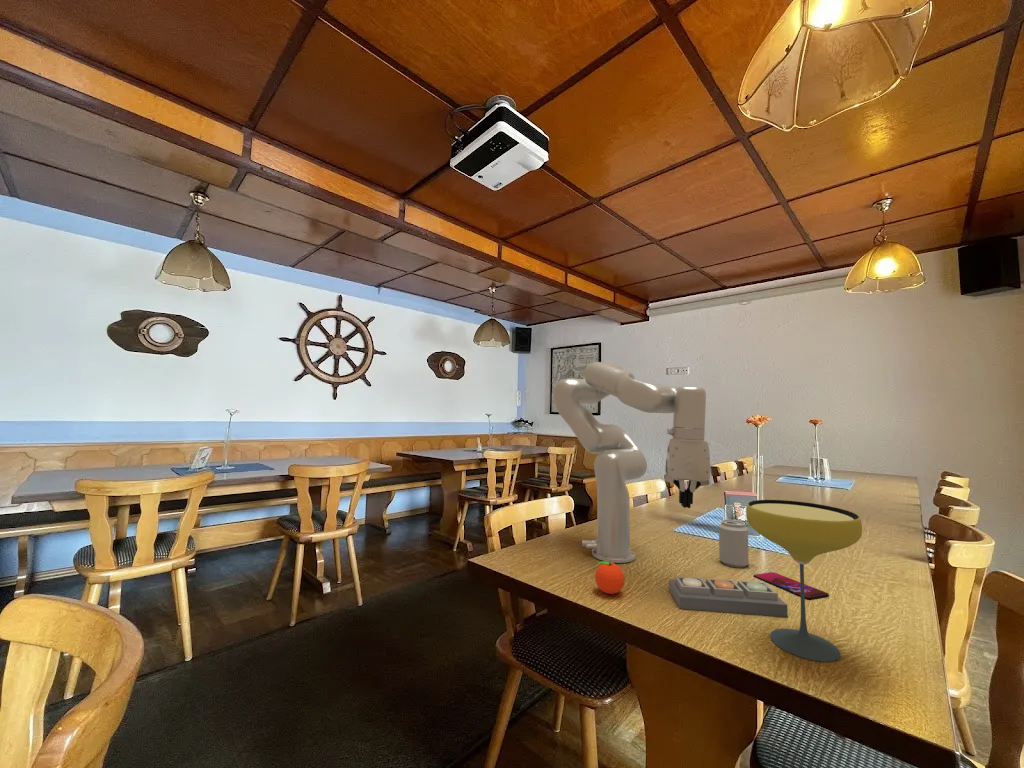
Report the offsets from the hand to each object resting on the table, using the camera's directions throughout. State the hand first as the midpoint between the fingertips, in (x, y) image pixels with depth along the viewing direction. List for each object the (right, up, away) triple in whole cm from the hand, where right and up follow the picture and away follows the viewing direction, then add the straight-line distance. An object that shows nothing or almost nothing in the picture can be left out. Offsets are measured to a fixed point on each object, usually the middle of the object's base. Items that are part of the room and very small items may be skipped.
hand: (685, 506), depth 107 cm
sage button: (+11, -16, -12) cm, 23 cm away
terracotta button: (+4, -16, -11) cm, 20 cm away
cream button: (-3, -16, -10) cm, 19 cm away
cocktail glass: (+10, -18, -29) cm, 35 cm away
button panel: (+4, -19, -11) cm, 22 cm away
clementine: (-22, -19, -7) cm, 29 cm away
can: (+20, -21, +14) cm, 32 cm away
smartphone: (+26, -20, -1) cm, 33 cm away
